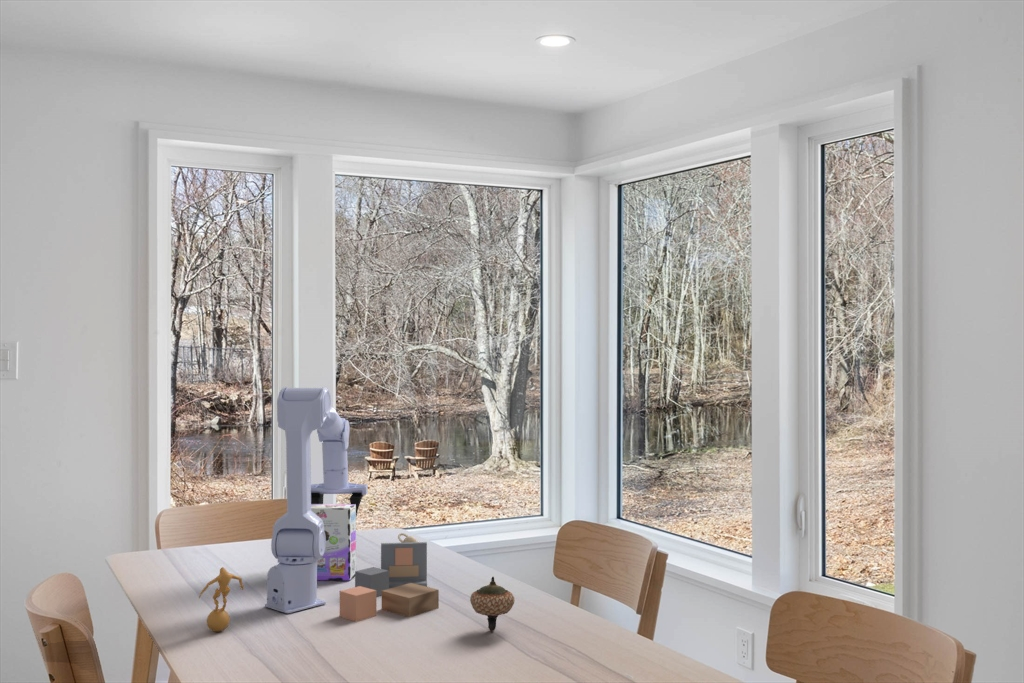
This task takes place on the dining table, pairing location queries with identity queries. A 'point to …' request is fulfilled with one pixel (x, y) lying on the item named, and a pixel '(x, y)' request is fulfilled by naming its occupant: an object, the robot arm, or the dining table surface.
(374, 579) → the charcoal cube
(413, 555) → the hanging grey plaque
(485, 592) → the acorn
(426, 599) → the walnut base block
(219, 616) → the figurine
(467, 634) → the dining table surface
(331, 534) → the candy box
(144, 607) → the dining table surface
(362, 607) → the terracotta cube
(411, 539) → the decorative ornament
